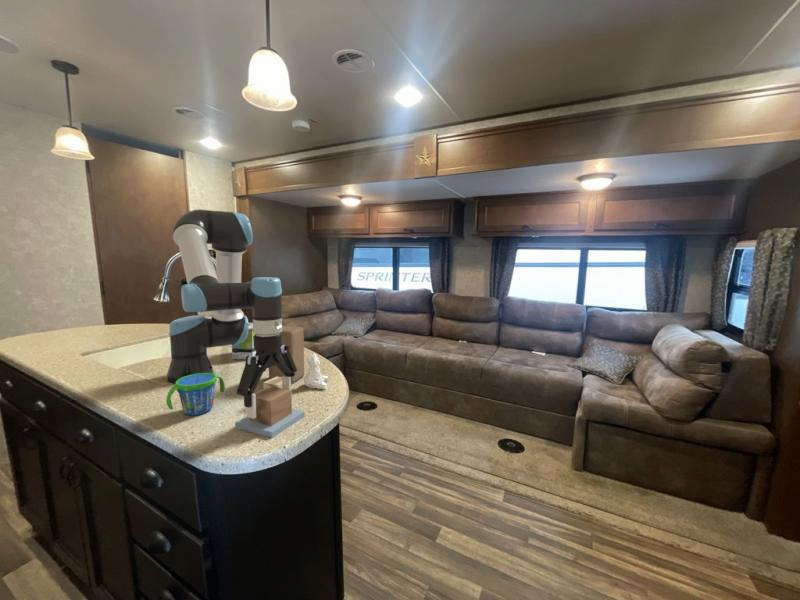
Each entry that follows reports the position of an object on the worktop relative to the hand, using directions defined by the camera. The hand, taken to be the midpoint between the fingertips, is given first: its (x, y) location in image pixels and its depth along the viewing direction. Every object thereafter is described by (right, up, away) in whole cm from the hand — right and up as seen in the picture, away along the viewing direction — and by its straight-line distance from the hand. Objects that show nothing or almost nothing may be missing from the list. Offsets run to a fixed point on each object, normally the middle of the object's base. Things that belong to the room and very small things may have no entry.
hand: (270, 406), depth 93 cm
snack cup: (-24, -4, +6) cm, 25 cm away
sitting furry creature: (+6, -1, +27) cm, 28 cm away
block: (-7, -1, +34) cm, 34 cm away
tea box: (-35, +4, +64) cm, 73 cm away
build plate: (0, -4, 0) cm, 4 cm away
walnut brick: (0, -3, 0) cm, 3 cm away
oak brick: (-3, -3, +14) cm, 14 cm away
